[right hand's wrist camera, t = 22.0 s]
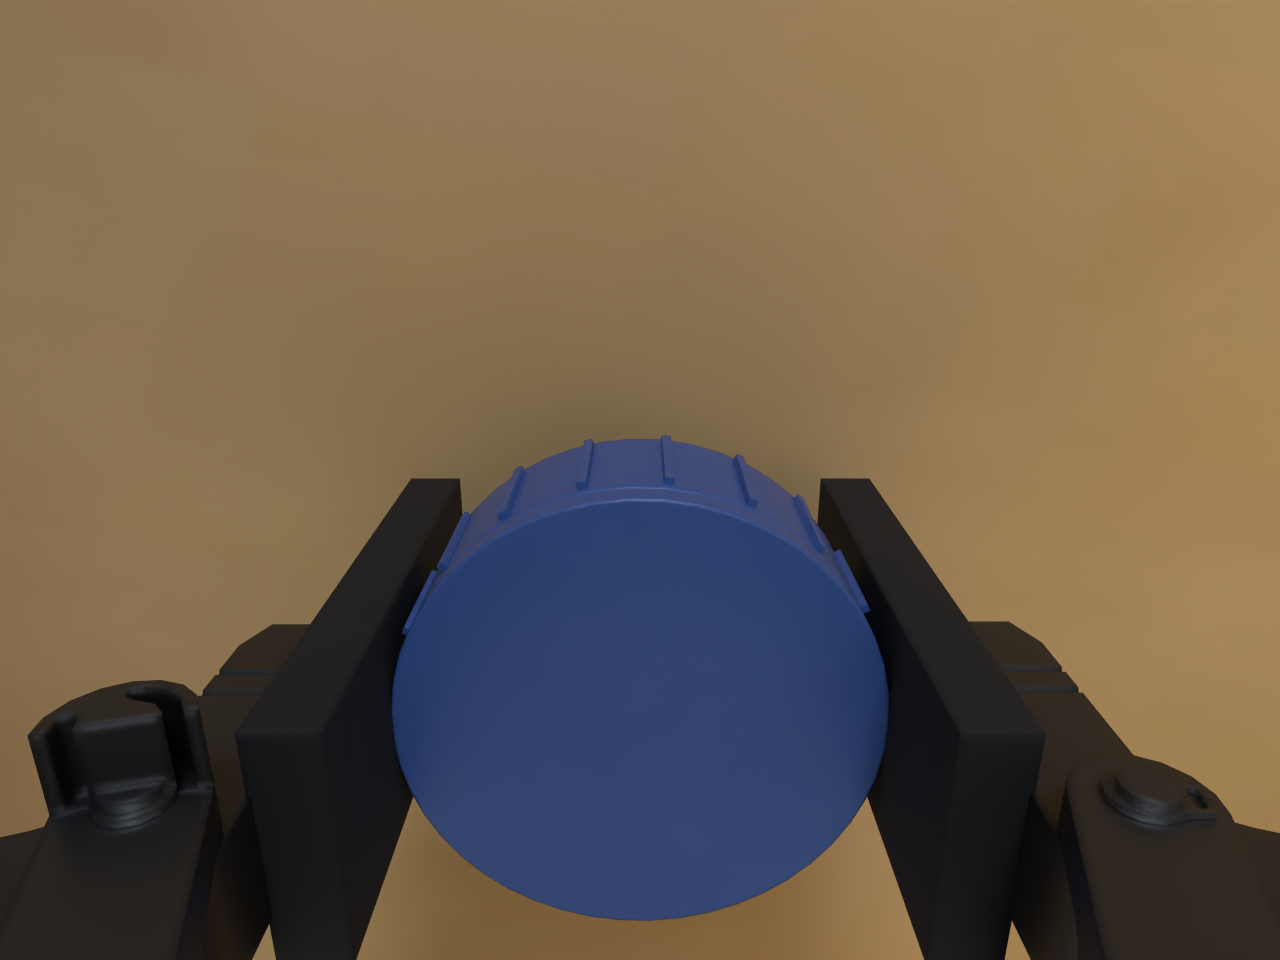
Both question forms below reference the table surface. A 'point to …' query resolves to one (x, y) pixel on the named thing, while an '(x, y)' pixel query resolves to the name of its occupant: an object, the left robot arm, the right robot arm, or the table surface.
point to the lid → (640, 684)
